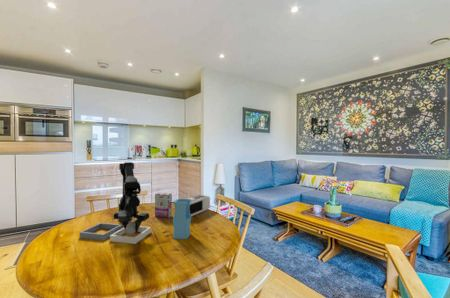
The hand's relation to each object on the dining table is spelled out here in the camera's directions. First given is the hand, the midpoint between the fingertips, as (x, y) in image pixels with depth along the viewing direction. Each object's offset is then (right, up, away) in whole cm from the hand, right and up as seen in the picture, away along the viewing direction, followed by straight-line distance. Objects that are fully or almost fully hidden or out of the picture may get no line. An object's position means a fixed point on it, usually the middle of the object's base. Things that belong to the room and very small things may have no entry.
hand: (131, 231), depth 119 cm
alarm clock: (+29, -3, +42) cm, 51 cm away
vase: (+28, -3, +1) cm, 28 cm away
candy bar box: (+8, -3, +34) cm, 35 cm away
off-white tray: (0, -3, 0) cm, 3 cm away
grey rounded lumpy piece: (0, -2, 0) cm, 2 cm away
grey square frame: (-19, -3, +4) cm, 19 cm away
